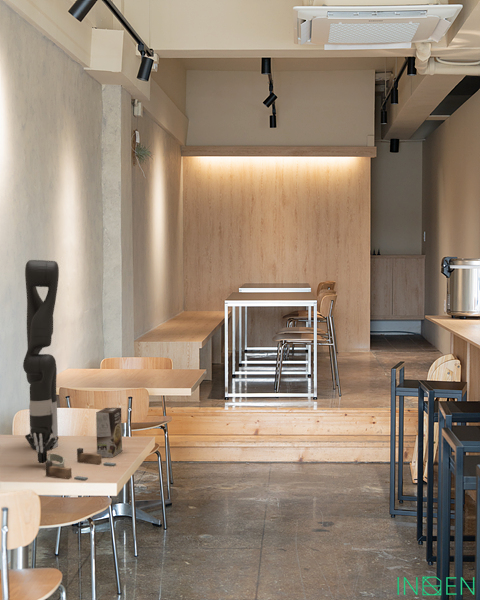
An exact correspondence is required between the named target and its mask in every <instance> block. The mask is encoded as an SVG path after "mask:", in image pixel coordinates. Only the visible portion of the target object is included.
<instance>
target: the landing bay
mask: <svg viewBox="0 0 480 600" xmlns="http://www.w3.org/2000/svg"><path fill="white" fill-rule="evenodd" d="M103 466H105V467H106V466H109V467H115V466H117V463H115V462H108V461H107V462H103ZM88 479H89V478H88V477H87V476H80V475H79V476H78V475H76V476H75V477H74V480H77V481H84V482H85V481H86V480H88Z"/></svg>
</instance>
